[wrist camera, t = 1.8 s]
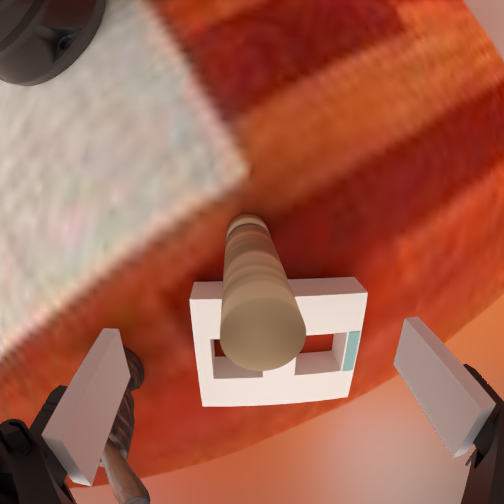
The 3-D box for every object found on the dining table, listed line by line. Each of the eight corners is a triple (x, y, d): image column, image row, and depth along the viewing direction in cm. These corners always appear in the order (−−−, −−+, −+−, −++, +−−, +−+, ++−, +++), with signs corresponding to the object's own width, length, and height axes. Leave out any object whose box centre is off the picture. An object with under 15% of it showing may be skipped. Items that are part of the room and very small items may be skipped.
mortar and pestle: (143, 320, 34) (83, 466, 15) (183, 374, 37) (161, 519, 18) (75, 350, 35) (7, 468, 16) (114, 397, 38) (73, 518, 19)
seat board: (194, 281, 33) (189, 300, 29) (354, 276, 34) (368, 293, 30) (204, 384, 37) (202, 407, 33) (338, 376, 38) (347, 397, 34)
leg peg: (226, 213, 31) (217, 300, 14) (267, 212, 31) (309, 297, 14) (227, 253, 32) (222, 372, 15) (267, 252, 32) (303, 368, 15)
